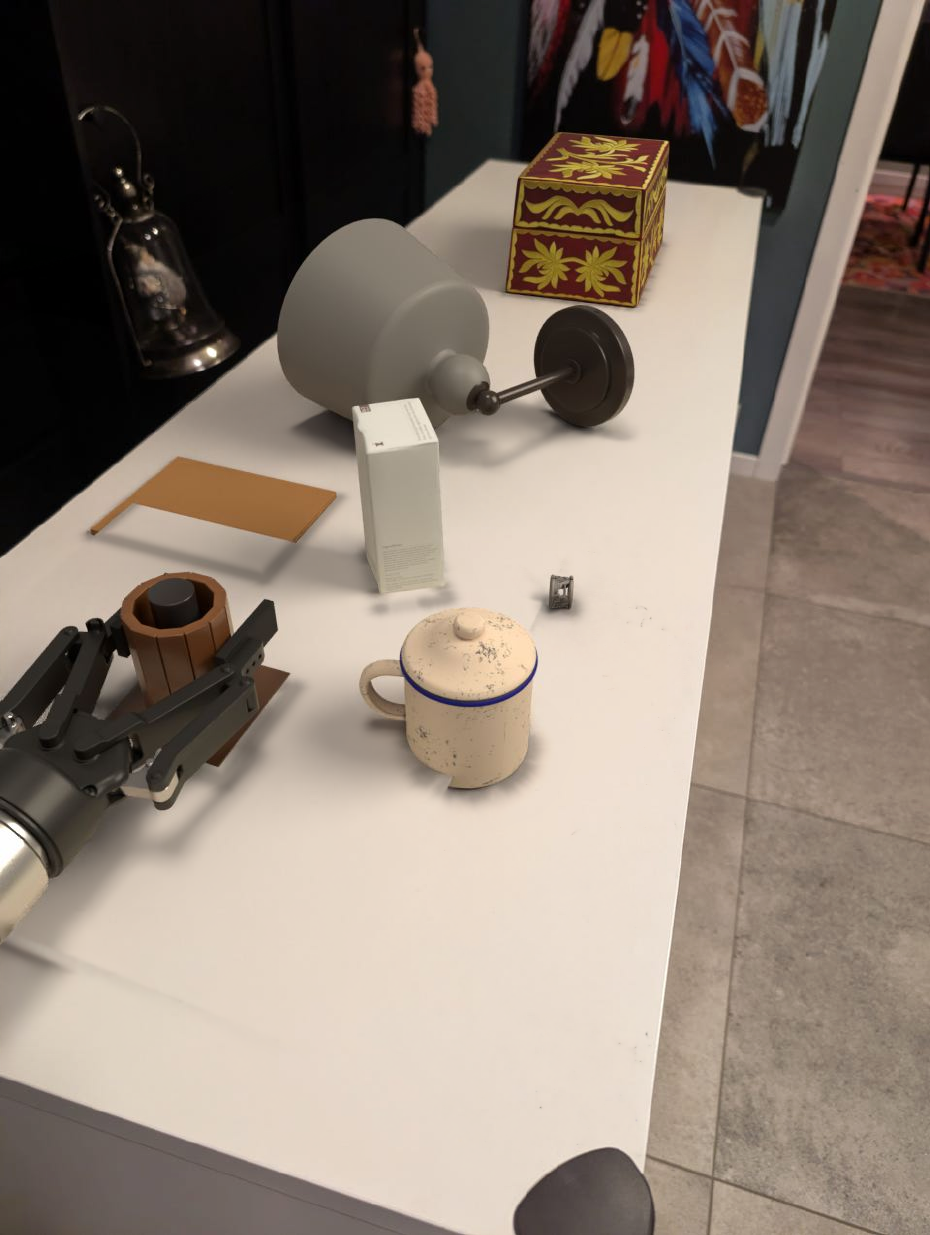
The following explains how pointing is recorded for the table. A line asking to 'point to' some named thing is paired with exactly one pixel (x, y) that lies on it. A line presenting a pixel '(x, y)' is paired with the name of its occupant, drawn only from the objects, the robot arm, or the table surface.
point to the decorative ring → (563, 583)
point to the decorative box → (589, 219)
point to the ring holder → (176, 610)
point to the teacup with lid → (463, 693)
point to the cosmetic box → (400, 494)
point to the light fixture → (430, 336)
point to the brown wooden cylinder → (175, 637)
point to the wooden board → (230, 499)
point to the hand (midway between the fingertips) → (221, 601)
